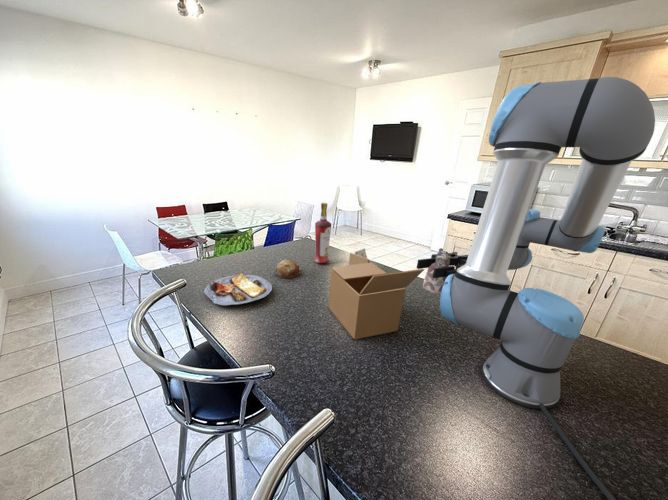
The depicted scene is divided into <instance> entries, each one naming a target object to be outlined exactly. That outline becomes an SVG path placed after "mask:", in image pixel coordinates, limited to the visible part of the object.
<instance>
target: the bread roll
mask: <svg viewBox="0 0 668 500" xmlns="http://www.w3.org/2000/svg"><path fill="white" fill-rule="evenodd" d="M299 274H300V266H299V265H298V264H297V263H296V262H295V261H293V260H289V259H283V260H280V262H278V264H277V265H276V270H275V275H277V276H278V277H280V278H282V279H293V278H296V277H297V276H299Z"/></svg>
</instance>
